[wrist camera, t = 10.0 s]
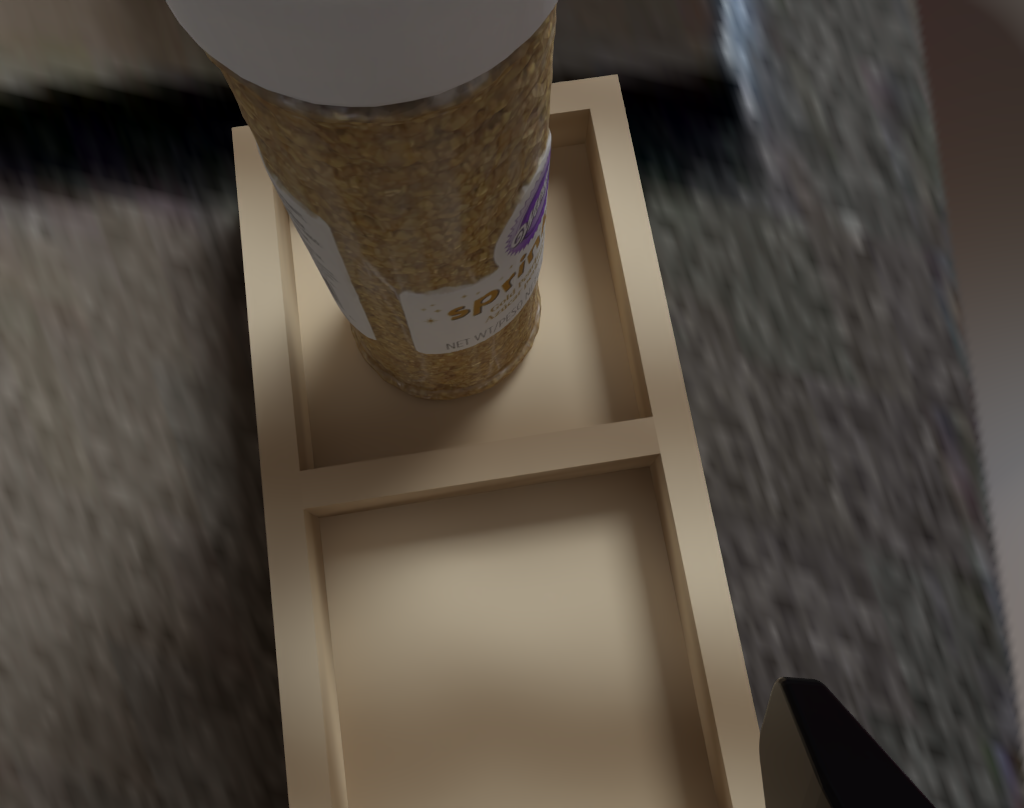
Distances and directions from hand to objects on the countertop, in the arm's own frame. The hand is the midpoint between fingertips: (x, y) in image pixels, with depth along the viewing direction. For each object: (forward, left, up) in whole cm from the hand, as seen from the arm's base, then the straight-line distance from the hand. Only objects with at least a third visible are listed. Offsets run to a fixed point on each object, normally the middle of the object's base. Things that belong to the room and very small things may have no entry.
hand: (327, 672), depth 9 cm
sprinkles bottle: (+8, -1, -10) cm, 13 cm away
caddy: (+4, -2, -11) cm, 12 cm away
